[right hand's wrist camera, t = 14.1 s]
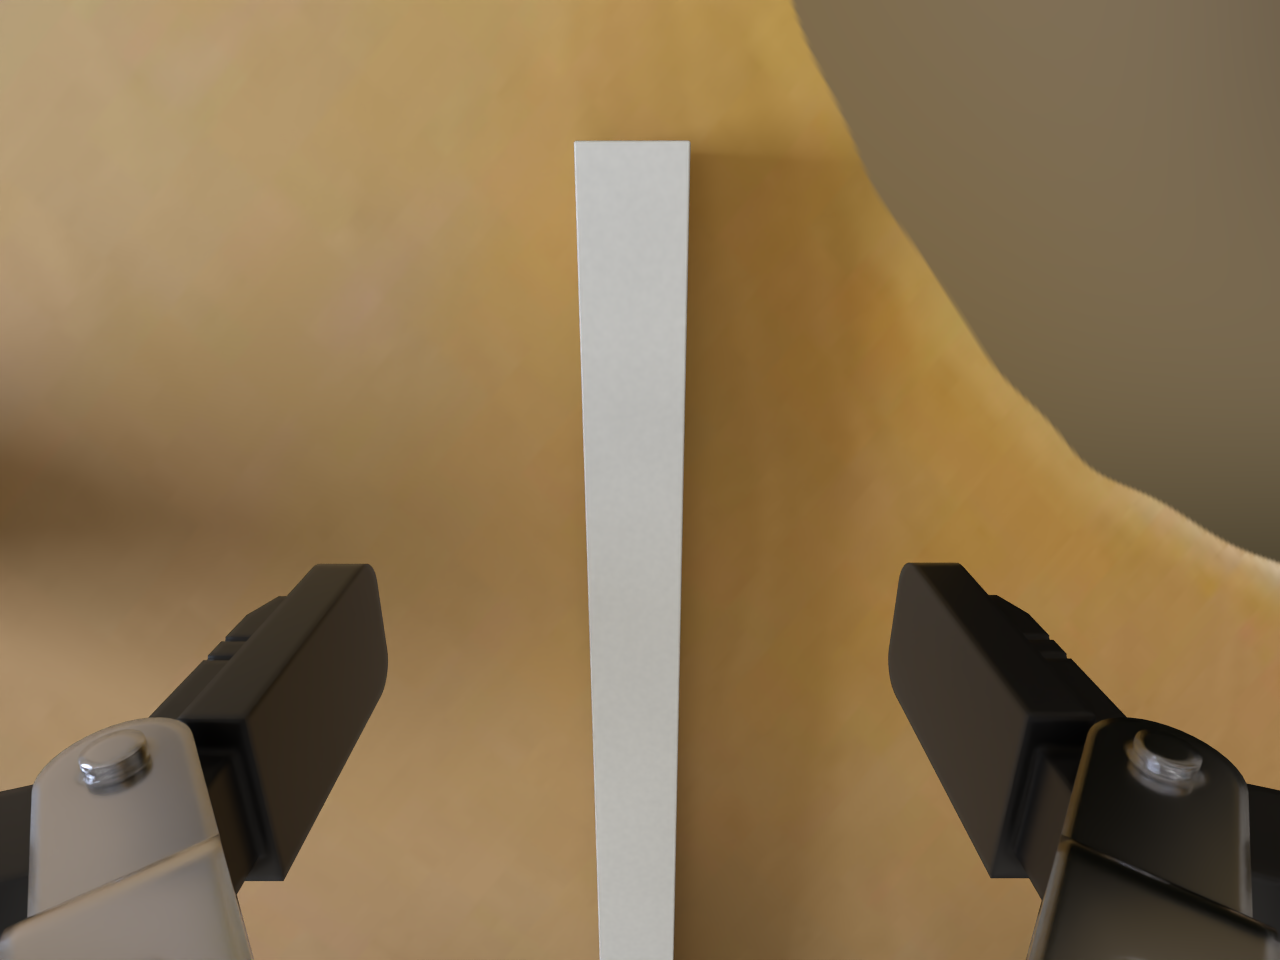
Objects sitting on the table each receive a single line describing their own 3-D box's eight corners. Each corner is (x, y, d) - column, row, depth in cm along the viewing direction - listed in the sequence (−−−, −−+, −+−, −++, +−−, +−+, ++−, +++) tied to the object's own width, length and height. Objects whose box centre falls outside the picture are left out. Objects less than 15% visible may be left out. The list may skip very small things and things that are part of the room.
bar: (586, 152, 32) (573, 140, 26) (681, 152, 32) (690, 140, 26) (608, 1020, 52) (605, 1125, 46) (666, 1020, 52) (670, 1125, 46)
